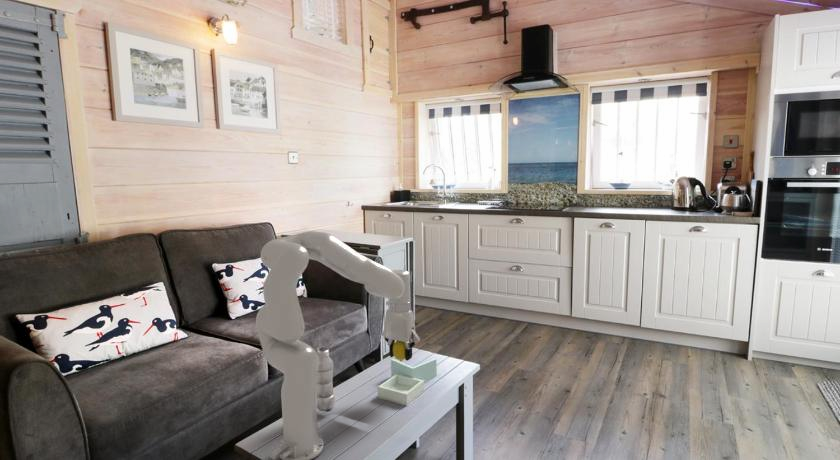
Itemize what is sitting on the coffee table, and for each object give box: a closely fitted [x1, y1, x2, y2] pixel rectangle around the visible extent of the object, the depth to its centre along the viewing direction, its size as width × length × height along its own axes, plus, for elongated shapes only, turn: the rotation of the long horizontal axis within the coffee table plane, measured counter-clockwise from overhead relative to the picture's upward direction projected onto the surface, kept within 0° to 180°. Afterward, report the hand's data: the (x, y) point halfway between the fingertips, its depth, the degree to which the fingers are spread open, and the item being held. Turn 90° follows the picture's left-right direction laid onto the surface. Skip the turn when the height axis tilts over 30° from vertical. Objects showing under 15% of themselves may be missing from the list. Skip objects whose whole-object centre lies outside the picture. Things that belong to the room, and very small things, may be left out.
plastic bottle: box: [316, 347, 336, 411], centre depth 147 cm, size 6×7×20 cm
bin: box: [377, 374, 425, 407], centre depth 157 cm, size 12×12×4 cm
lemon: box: [393, 340, 407, 362], centre depth 155 cm, size 6×6×8 cm
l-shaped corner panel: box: [390, 358, 438, 383], centre depth 169 cm, size 12×12×8 cm
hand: (400, 357), depth 155 cm, fingers closed on lemon, 5 cm apart
